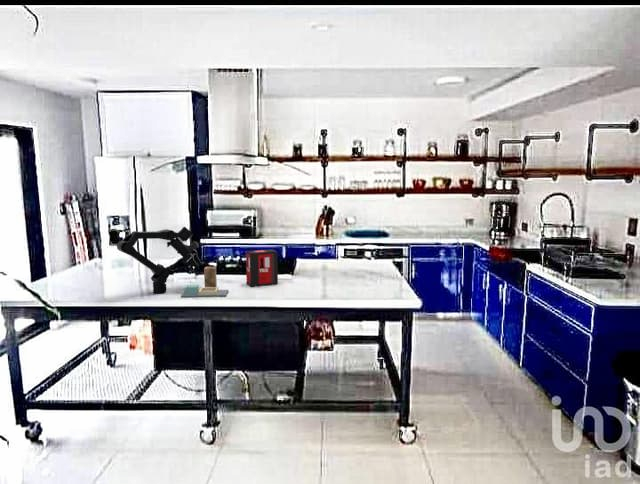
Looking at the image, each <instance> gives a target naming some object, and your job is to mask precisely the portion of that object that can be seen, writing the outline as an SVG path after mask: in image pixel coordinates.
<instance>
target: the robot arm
mask: <svg viewBox="0 0 640 484" xmlns="http://www.w3.org/2000/svg"><path fill="white" fill-rule="evenodd" d="M192 236H193V232H192V231H191V230H190V229H188V228H187V227H186V226H183V227H181V229H180V230H179V231H178V232H176V231H174V230H172V229H167V228H165V229H161V230H158V231H156V230H155V231H136V230H135V231H134V230H133V231H132V232H131V233H129V235H127V236H126V237H124V238H123V239H122V240H120V241H118V242H117V244H116V250H118V251H119V252H121V253H124V254H126V255H127V256H130V257H132V258H133V259H135V260H136V261H137V262H139V263H140V264H142V265H143V266H145V267H146V268H147V269H149V270H150V272H152V274H153V275H152V276H151V277H150V280H151V281H152V295H159V294H163V295H164V294H166V292H167V280H168V277H169V276H170V271H169V270H168V268H167V267H165V266H164V265H163V264H160V263H157V264H155V263H154V262H153V261H152V260H150V259H149V258H147V257H146V256H145V255H143V254H142V253H140V252H139V251H137V249H136V248H135V247H134V246H135V245H136V244H137V242H138V240H142V239H143V240H147V239H149V240H150V239H154V240H155V239H160V240H166V241H167V242H166V248H169V247H172V249H174V250H175V252H176V253H177V254H179V255H180V256H181V257H182V259H181V263H182V264H185V265H187V266H190V267H192V268H196V269H200V266H203V264H202V262H201V260H200V258H199V257H198V252H197V251H198V250H196V249H199V247H200V246H199V243H198V241H195V240H193V241H191V243H190V244H185V243H183V242H187V241H188V240H189V239H190V238H191V237H192Z"/></svg>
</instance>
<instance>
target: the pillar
mask: <svg viewBox="0 0 640 484" xmlns="http://www.w3.org/2000/svg"><path fill="white" fill-rule="evenodd" d="M203 272H204V273H203V274H204V275H203V277H204V282H203V283H204V287H218V286H217V266H205V267H204V269H203Z"/></svg>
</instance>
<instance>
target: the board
mask: <svg viewBox="0 0 640 484" xmlns="http://www.w3.org/2000/svg"><path fill="white" fill-rule="evenodd" d="M228 293H229V289H219V287H218V286H217V287H205V286H201V287H200V289H199V284H187V285H186V286H185V288H184V291H183V293H181V295H180V298H184V299H185V298H186V299H187V298H225V297H226V298H227V297H228Z"/></svg>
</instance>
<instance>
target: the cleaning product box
mask: <svg viewBox="0 0 640 484" xmlns="http://www.w3.org/2000/svg"><path fill="white" fill-rule="evenodd" d="M245 262H246V263H245V269H246V270H245V271H246V273H245V274H246V285H247V286H249V288H257V287H259V288H260V287H267V286H276V285H277V284H278V285H279V282H278V281H279V280H278V279H279V278H278V277H279V276H278V275H279V270H278V269H279V266H278V263H279V261H278V251H277V250H274V249H257V250H246V251H245Z"/></svg>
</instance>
